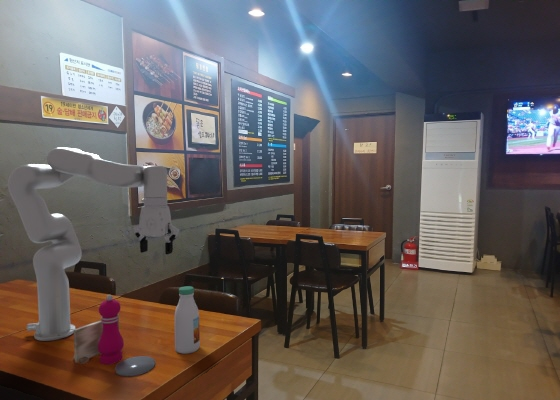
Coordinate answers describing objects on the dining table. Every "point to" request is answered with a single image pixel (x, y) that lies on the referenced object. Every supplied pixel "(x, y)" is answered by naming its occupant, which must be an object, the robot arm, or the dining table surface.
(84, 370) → the dining table surface
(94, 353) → the screen
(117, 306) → the pepper mill
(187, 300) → the milk bottle
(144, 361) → the coaster
